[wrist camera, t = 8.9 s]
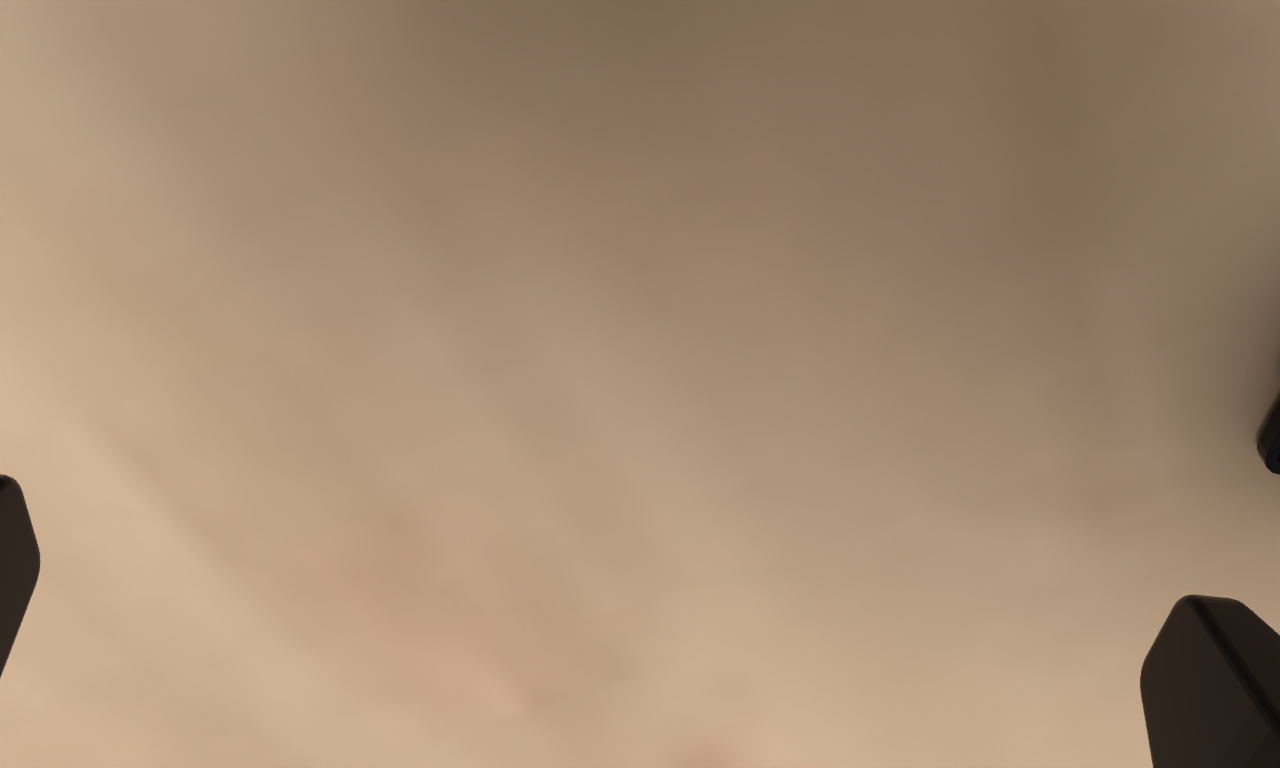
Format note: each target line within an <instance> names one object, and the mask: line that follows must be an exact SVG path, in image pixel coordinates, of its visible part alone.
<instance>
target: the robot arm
mask: <svg viewBox="0 0 1280 768" xmlns="http://www.w3.org/2000/svg"><path fill="white" fill-rule="evenodd" d="M1257 449H1258V453H1259V455H1260V457H1261V459H1262V460H1263V462H1264V464H1265V465H1266V467H1267V468H1268V469H1269V470H1270V471H1271V472H1272V473H1276V474H1279V475H1280V402H1279V404H1278V406H1277V408H1276V410H1275V412H1274V413H1273V415H1272V417H1271V419H1270V421H1269V423H1268V424H1267V426H1266V428H1265V430H1264V432H1263V434H1262V435H1261V437H1260V439H1259V442H1258V445H1257ZM39 570H40V552H39V547H38V544H37V540H36V537H35V533H34V530H33V526H32V523H31V520H30V516H29V513H28V509H27V506H26V502H25V499H24V496H23V492H22V490H21V487H20V485H19V484H18V483H17V481H16V480H15V479H13V478H12V477H9V476H7V475H1V474H0V678H1V675H2V672H3V670H4V667H5V664H6V662H7V659H8V657H9V654H10V651H11V649H12V646H13V643H14V641H15V638H16V636H17V633H18V630H19V628H20V625H21V622H22V620H23V617H24V615H25V612H26V609H27V607H28V604H29V601H30V599H31V596H32V594H33V591H34V588H35V586H36V583H37V580H38V575H39ZM1140 689H1141V697H1142V703H1143V709H1144V715H1145V721H1146V727H1147V733H1148V739H1149V745H1150V751H1151V757H1152V763H1153V768H1280V635H1279V634H1278V633H1276V632H1275V631H1274V630H1273V629H1272V628H1271V627H1270V626H1269V625H1267V624H1266V623H1265V622H1264V621H1263V620H1262V619H1261V618H1259V617H1258V616H1257V615H1256V614H1255V613H1254V612H1253V611H1252V610H1250V609H1249V608H1248V607H1247V606H1245V605H1244V604H1243V603H1241V602H1239V601H1237V600H1234V599H1230V598H1221V597H1211V596H1202V595H1187V596H1184V597H1183V598H1181V599H1180V600H1178V601H1177V602H1176V604H1175V605H1174V607H1173V608H1172V610H1171V612H1170V614H1169V616H1168V618H1167V619H1166V621H1165V623H1164V625H1163V627H1162V628H1161V630H1160V632H1159V634H1158V636H1157V638H1156V639H1155V641H1154V643H1153V645H1152V647H1151V649H1150V650H1149V652H1148V654H1147V656H1146V658H1145V660H1144V663H1143V666H1142V670H1141V677H1140Z"/></svg>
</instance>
